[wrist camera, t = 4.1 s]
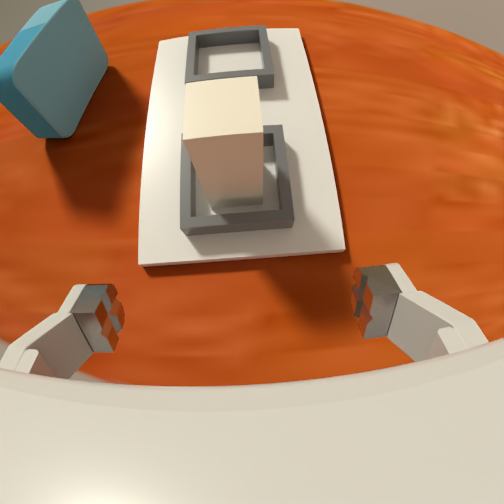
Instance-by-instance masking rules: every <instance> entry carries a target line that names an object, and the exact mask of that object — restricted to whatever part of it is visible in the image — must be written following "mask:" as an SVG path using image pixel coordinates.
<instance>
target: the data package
mask: <svg viewBox="0 0 504 504" xmlns="http://www.w3.org/2000/svg"><path fill="white" fill-rule="evenodd" d="M107 67H108V56H107V54H106V52H105V50H104V48H103V46H102V44H101V42H100V40H99V39H98V37H97V35H96V33H95V31H94V29H93V27H92V25H91V23H90V21H89V19H88V17H87V15H86V13H85V11H84V9H83V7H82V5H81V3H80V1H79V0H62V1H59V2H55V3H52V4H49V5H46V6H44V7H41V8H40V9H39V10H38V11H37V12H36V13H35V14H34V15H33V16H32V17H31V19H30V20H29V21H28V22H27V23H26V24H25V26H24V27H23V28H22V29H21V31H20V32H19V33H18V34H17V35H16V37H15V38H14V39H13V41H12V42H11V43H10V44H9V46H8V47H7V48H6V50H5V51H4V53H3V54H2V55H1V57H0V102H1V103H2V104H3V105H4V106H5V107H6V108H7V109H8V110H9V111H10V112H11V113H12V114H13V115H14V116H15V117H16V118H17V119H18V120H19V121H20V122H21V123H22V124H23V125H24V126H25V127H26V128H27V129H28V130H29V131H31V132H32V133H33V134H34V135H35V136H36V137H37V138H68V137H70V136H71V135H72V134H73V133H74V132H75V130H76V128H77V125H78V123H79V121H80V119H81V117H82V115H83V113H84V111H85V109H86V107H87V105H88V103H89V101H90V99H91V97H92V95H93V93H94V92H95V90H96V88H97V86H98V84H99V82H100V81H101V79H102V77H103V75H104V74H105V72H106V70H107Z"/></svg>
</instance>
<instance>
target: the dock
mask: <svg viewBox="0 0 504 504" xmlns="http://www.w3.org/2000/svg"><path fill="white" fill-rule="evenodd" d="M249 76H257V80H258V89H259V97H260V106H261V115H262V124H263V205H250V206H237V207H225V208H213V209H211V206H210V204H209V202H208V199H207V197H206V195H205V192H204V190H203V187H202V185H201V183H200V180H199V178H198V176H197V173H196V171H195V168H194V166H193V164H192V161H191V159H190V156H189V154H188V151H187V149H186V147H185V144H184V142H183V121H184V102H185V86H186V83H191V82H198V81H206V80H215V79H225V78H236V77H249ZM344 250H345V242H344V235H343V228H342V221H341V215H340V208H339V202H338V196H337V190H336V185H335V179H334V174H333V168H332V163H331V158H330V153H329V148H328V143H327V138H326V134H325V129H324V125H323V120H322V116H321V111H320V107H319V103H318V99H317V95H316V91H315V87H314V83H313V79H312V75H311V71H310V67H309V64H308V60H307V56H306V53H305V49H304V46H303V42H302V39H301V36H300V32H299V29H298V28H280V29H266V25H260V26H243V27H230V28H220V29H211V30H203V31H196V32H189V36H186V37H180V38H174V39H169V40H163V41H160V42H159V47H158V52H157V57H156V63H155V69H154V75H153V81H152V87H151V94H150V101H149V109H148V116H147V125H146V133H145V143H144V153H143V165H142V178H141V193H140V212H139V247H138V265H140V266H142V267H146V266H161V265H175V264H189V263H203V262H217V261H231V260H244V259H258V258H271V257H284V256H298V255H311V254H323V253H336V252H343V251H344Z"/></svg>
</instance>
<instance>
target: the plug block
mask: <svg viewBox="0 0 504 504" xmlns="http://www.w3.org/2000/svg"><path fill="white" fill-rule="evenodd" d="M183 142H184V144H185V147H186V149H187V151H188V154H189V156H190V159H191V161H192V164H193V166H194V168H195V171H196V173H197V176H198V178H199V180H200V183H201V185H202V187H203V190H204V192H205V195H206V197H207V199H208V202H209V204H210V206H211V209H213V208H225V207H237V206H250V205H263V124H262V115H261V106H260V97H259V89H258V80H257V76H249V77H236V78H225V79H215V80H206V81H198V82H191V83H186V86H185V102H184V121H183Z"/></svg>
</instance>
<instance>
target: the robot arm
mask: <svg viewBox="0 0 504 504" xmlns="http://www.w3.org/2000/svg"><path fill="white" fill-rule="evenodd" d="M353 278H354V280H355V283H356V285H355V286H354V287H353V288H352V291H351V306H352V310H353V313H354V316H356V317H357V318H359V322H358V326H359V329H360V331H361V334H362V336H363V339H367V338H375V337H383V336H387V338H388V339H390V340H391V341H392V342H393V343H394V344H396V345H397V346H398V347H399V348H400V349H401V350H403V351H404V352H405V353H406V354H407V355H409V356H410V357H411V358H412V359H413V360H414V361H416V362H414V363H409V364H405V365H400V366H395V367H390V368H385V369H379V370H374V371H368V372H362V373H356V374H349V375H343V376H336V377H328V378H320V379H312V380H303V381H293V382H282V383H270V384H255V385H236V386H196V387H184V386H142V385H124V384H110V383H98V382H88V381H78V380H70V379H69V378H70V377H71V376H72V375H73V374H74V373H75V372H76V371H77V370H78V369H79V368H80V367H81V366H82V365H83V363H84V362H85V361H86V360H87V359H88V358H89V357H90V356H91V355H92V354H93V352H114V351H115V348H116V345H117V342H118V339H119V338H118V335H117V333H118V332H119V331H120V330H122V328H123V325H124V317H125V314H124V309H123V306H122V304H121V302H119V301H118V300H117V299H116V296H117V291H116V288H115V286H114V285H113V284H77V285H74V286H73V288H72V289H71V291H70V293H69V294H68V296H67V297H66V299H65V301H64V302H63V304H62V306H61V308H60V309H59V311H58V313H53V314H52V315H51V316H49V317H48V318H46V319H45V320H43V321H42V322H41V323H39V324H38V325H36V326H35V327H34V328H32V329H31V330H29V331H28V332H27V333H25V334H24V335H23V336H21V337H20V338H18V339H17V340H16V341H14V342H13V343H12V344H10V345H9V346H8V348H7V350H6V352H5V353H4V356H3V357H2V359H1V361H0V504H504V338H501V339H498V340H495V341H492V342H488V340H487V339H486V337H485V336H484V334H483V333H482V331H481V329H480V328H479V326H478V325H477V323H476V322H475V321H474V320H473V319H471V318H470V317H468V316H466V315H464V314H463V313H461V312H459V311H457V310H455V309H454V308H452V307H450V306H448V305H446V304H445V303H443V302H441V301H439V300H437V299H435V298H434V297H432V296H430V295H428V294H426V293H424V292H423V291H417V290H416V288H415V287H414V285H413V284H412V282H411V281H410V279H409V278H408V276H407V275H406V274H405V272H404V271H403V269H402V268H401V266H400V265H399V264H398V263H392V264H384V265H378V266H368V267H358V268H356V269H355V271H354V277H353Z"/></svg>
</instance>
